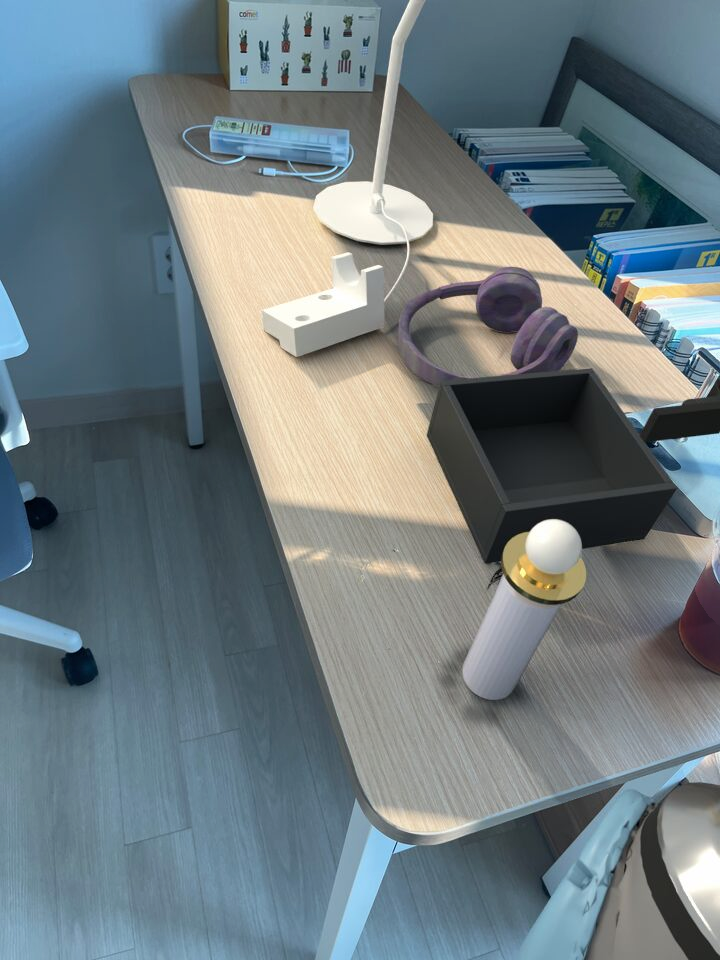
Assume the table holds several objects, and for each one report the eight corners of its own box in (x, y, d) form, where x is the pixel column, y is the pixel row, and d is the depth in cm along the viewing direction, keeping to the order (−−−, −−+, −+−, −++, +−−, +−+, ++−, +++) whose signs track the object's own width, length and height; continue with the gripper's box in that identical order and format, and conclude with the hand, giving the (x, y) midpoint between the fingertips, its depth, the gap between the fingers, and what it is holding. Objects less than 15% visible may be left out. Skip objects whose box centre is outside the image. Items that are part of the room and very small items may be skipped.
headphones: (517, 298, 102) (378, 332, 98) (526, 244, 96) (377, 278, 92) (586, 385, 91) (431, 427, 87) (601, 331, 84) (435, 374, 81)
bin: (644, 539, 76) (677, 488, 70) (484, 564, 71) (506, 511, 66) (569, 420, 87) (592, 367, 81) (426, 435, 83) (440, 380, 77)
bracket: (350, 309, 98) (348, 252, 94) (384, 326, 94) (383, 266, 89) (264, 337, 92) (257, 277, 88) (296, 357, 87) (290, 294, 83)
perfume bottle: (533, 700, 62) (623, 554, 48) (471, 719, 61) (545, 574, 46) (501, 641, 66) (577, 488, 51) (442, 657, 64) (502, 504, 49)
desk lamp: (301, 183, 118) (327, -199, 85) (410, 183, 123) (475, -180, 90) (356, 327, 94) (422, -126, 61) (490, 321, 99) (617, -104, 66)
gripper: (1044, 633, 50) (785, 693, 45) (808, 388, 66) (595, 410, 61) (1142, 567, 45) (860, 627, 40) (860, 317, 61) (630, 335, 55)
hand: (699, 496), depth 50 cm, fingers open, 13 cm apart
